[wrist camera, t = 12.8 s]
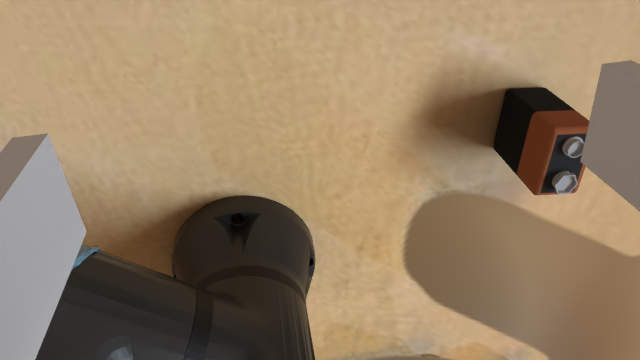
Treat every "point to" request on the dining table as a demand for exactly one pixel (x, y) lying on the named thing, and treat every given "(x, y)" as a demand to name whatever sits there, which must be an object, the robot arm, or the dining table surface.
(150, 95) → the dining table surface
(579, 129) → the battery
